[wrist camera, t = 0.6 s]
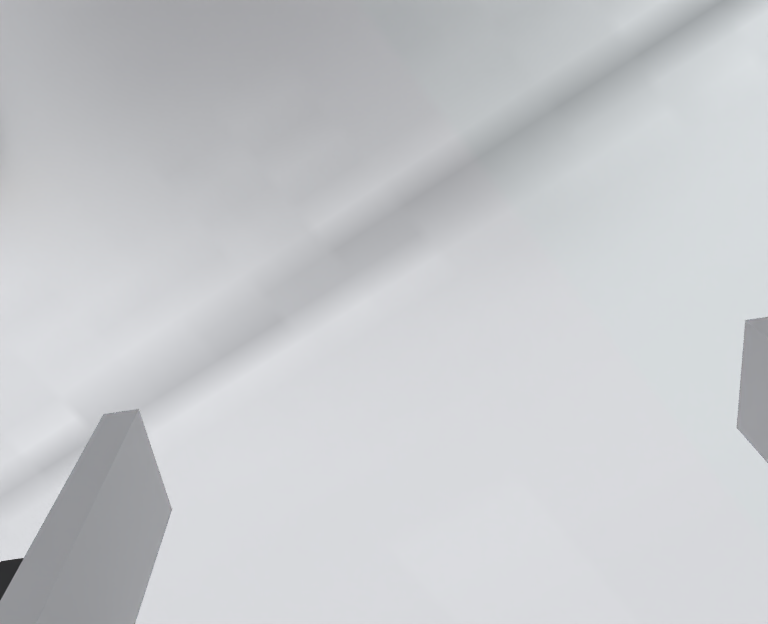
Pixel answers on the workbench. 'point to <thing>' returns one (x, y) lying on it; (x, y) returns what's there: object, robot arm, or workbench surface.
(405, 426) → the workbench surface
